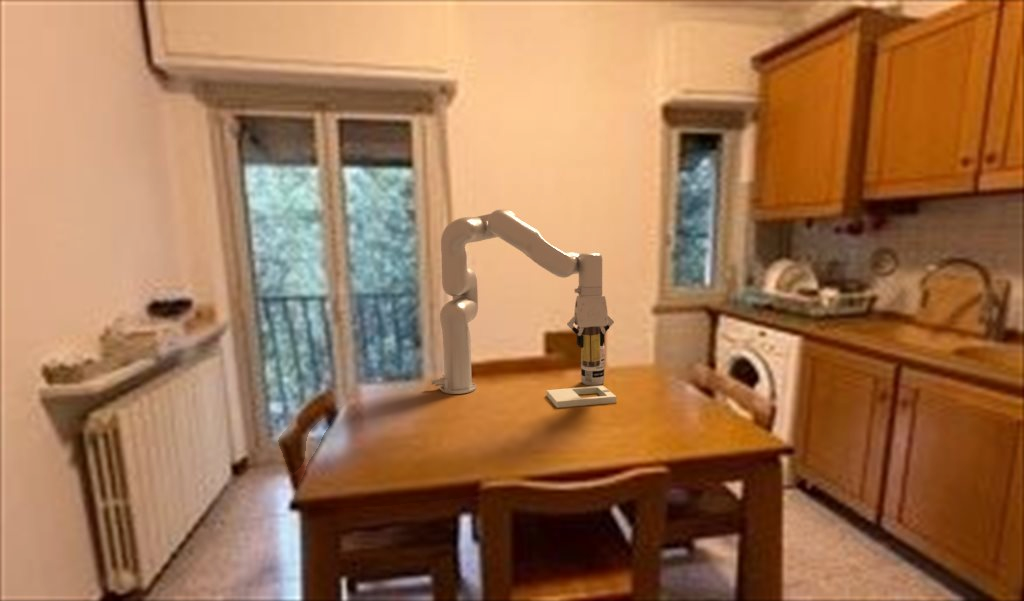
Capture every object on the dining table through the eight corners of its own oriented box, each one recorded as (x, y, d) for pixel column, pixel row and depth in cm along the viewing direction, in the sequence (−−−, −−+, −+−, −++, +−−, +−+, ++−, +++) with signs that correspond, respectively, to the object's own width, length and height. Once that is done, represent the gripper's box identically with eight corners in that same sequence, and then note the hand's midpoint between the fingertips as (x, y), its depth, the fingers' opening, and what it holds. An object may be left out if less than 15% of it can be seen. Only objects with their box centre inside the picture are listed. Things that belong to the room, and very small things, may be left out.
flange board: (556, 407, 178) (556, 401, 178) (546, 395, 190) (546, 389, 189) (616, 402, 182) (616, 396, 182) (602, 391, 194) (602, 385, 193)
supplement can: (581, 379, 208) (581, 339, 206) (603, 379, 207) (604, 339, 204) (580, 385, 200) (581, 344, 198) (604, 386, 199) (604, 345, 196)
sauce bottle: (600, 363, 187) (601, 303, 184) (600, 368, 181) (600, 307, 178) (581, 362, 188) (581, 303, 185) (580, 367, 182) (580, 306, 179)
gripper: (568, 294, 175) (568, 350, 178) (620, 291, 179) (620, 346, 182) (561, 291, 183) (561, 345, 185) (611, 288, 186) (611, 341, 189)
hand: (590, 345), depth 184 cm, fingers closed on sauce bottle, 6 cm apart
